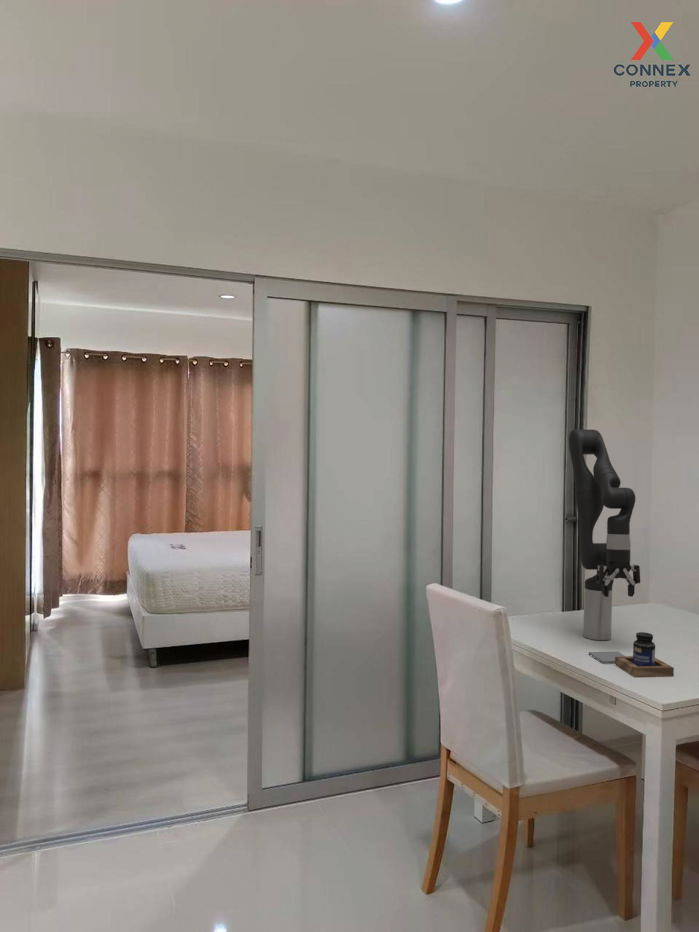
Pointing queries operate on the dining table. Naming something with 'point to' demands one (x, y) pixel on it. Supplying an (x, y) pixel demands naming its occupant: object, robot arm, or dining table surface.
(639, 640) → the pill bottle
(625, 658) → the walnut holder
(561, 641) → the dining table surface
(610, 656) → the grey pad
